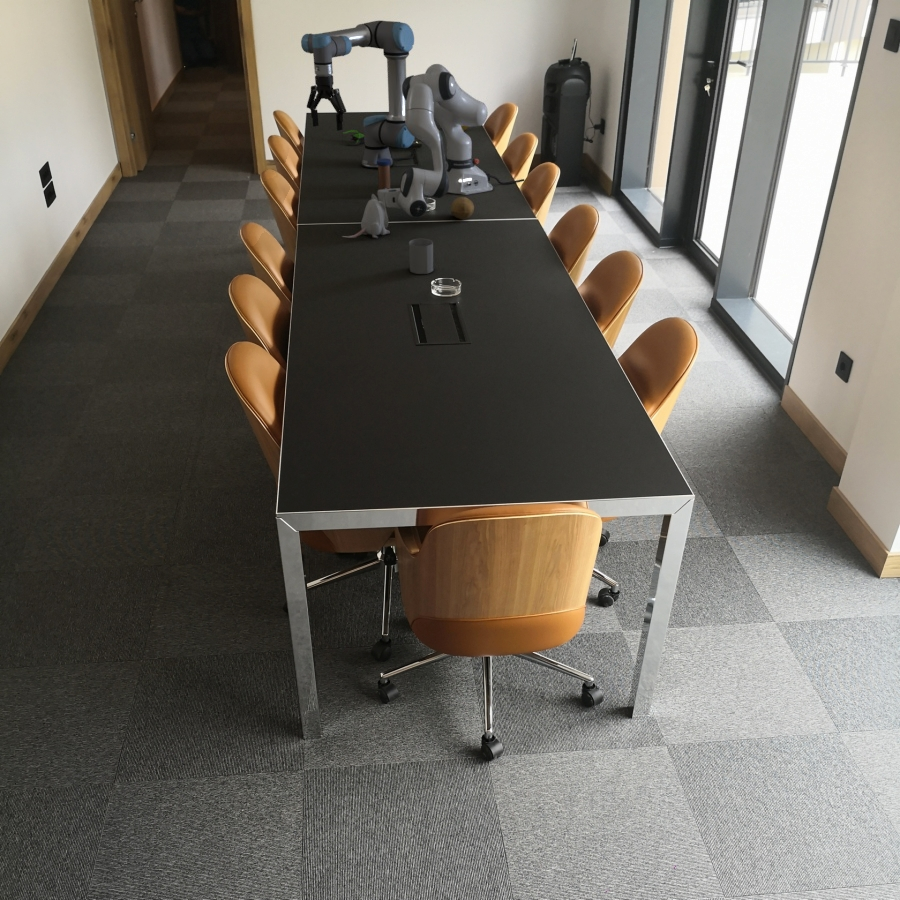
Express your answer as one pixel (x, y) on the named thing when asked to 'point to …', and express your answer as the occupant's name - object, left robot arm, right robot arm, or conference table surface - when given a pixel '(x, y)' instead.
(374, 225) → the toy
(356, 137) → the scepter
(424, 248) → the cup
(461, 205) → the potato
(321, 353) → the conference table surface
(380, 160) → the lid
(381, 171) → the jar
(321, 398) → the conference table surface
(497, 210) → the conference table surface
